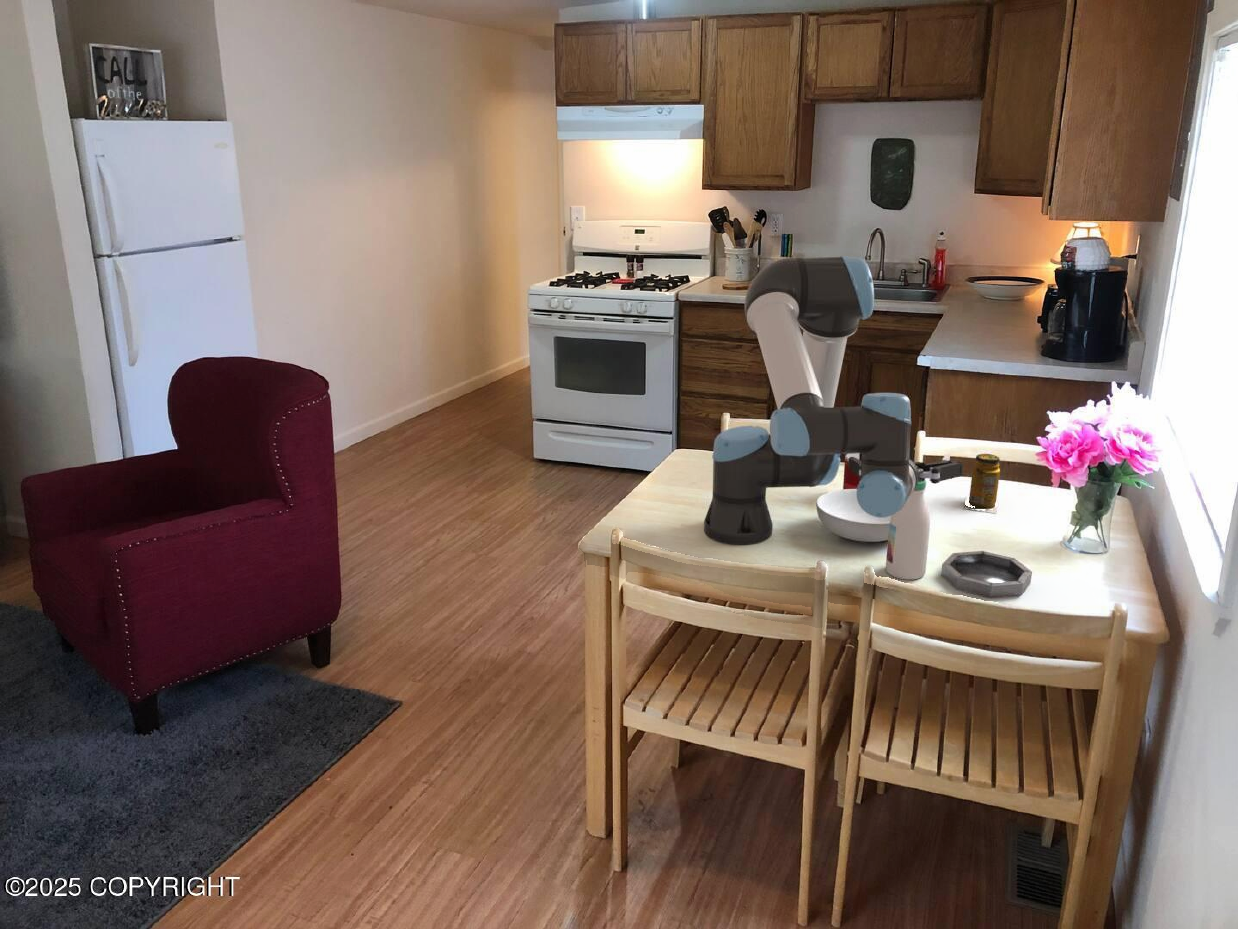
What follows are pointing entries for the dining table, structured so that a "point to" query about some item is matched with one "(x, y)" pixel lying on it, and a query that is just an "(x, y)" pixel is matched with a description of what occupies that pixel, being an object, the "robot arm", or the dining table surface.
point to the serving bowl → (850, 517)
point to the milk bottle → (909, 537)
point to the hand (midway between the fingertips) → (910, 459)
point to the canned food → (850, 474)
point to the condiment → (984, 483)
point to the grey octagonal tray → (986, 574)
